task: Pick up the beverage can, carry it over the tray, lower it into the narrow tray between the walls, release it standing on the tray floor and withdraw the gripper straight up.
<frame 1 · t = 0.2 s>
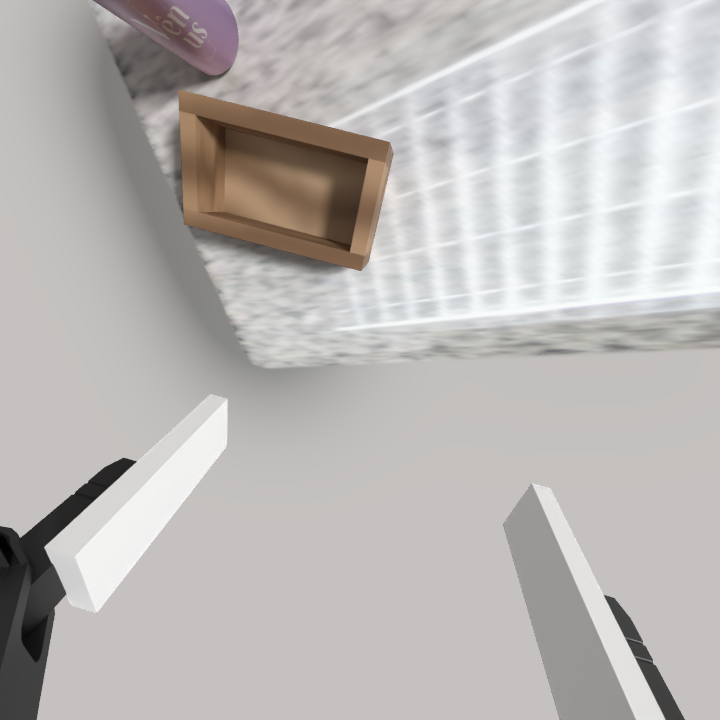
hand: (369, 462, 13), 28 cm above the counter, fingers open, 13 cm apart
beverage can: (213, 38, 30), on the counter
tray: (297, 190, 34), on the counter
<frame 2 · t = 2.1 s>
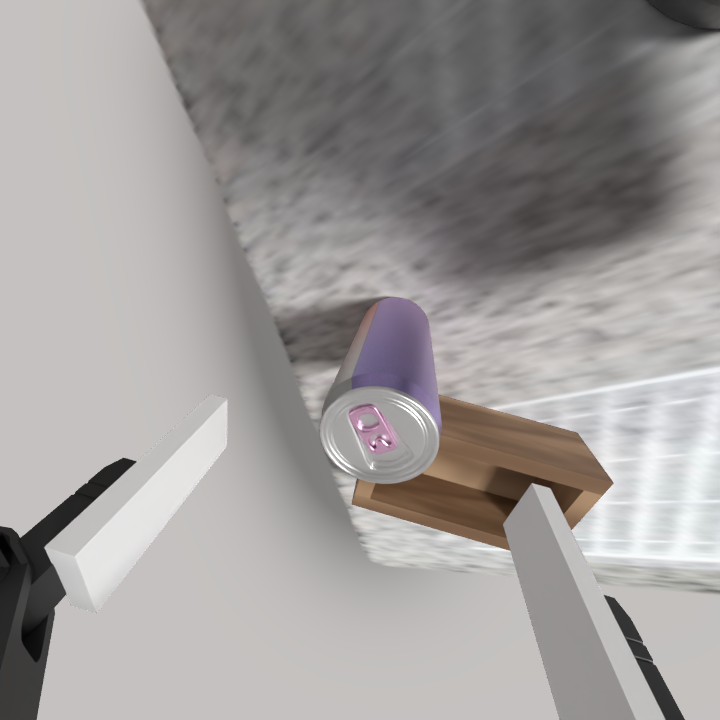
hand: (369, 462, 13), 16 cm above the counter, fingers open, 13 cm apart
beverage can: (395, 327, 28), on the counter
tray: (459, 447, 32), on the counter
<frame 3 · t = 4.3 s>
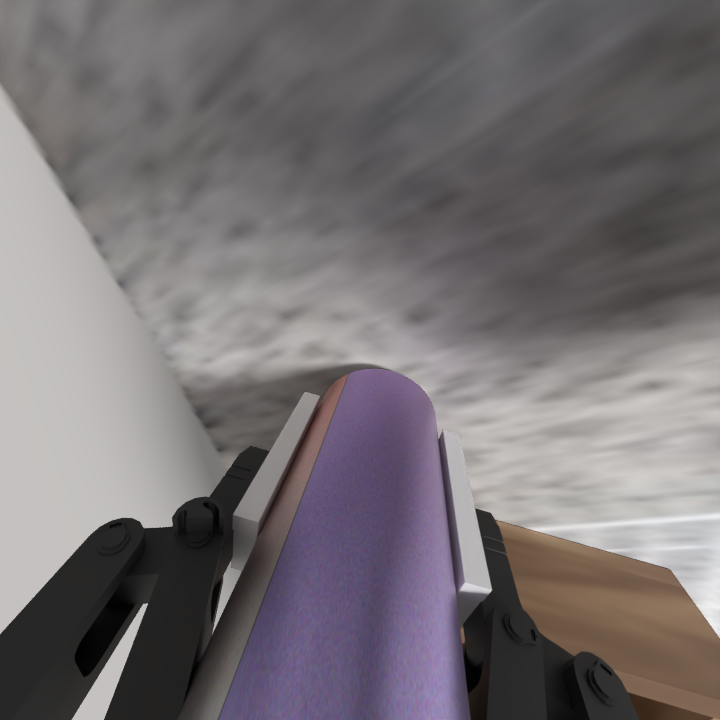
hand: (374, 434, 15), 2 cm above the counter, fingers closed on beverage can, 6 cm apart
beverage can: (378, 409, 17), on the counter, touching gripper
tray: (479, 574, 21), on the counter
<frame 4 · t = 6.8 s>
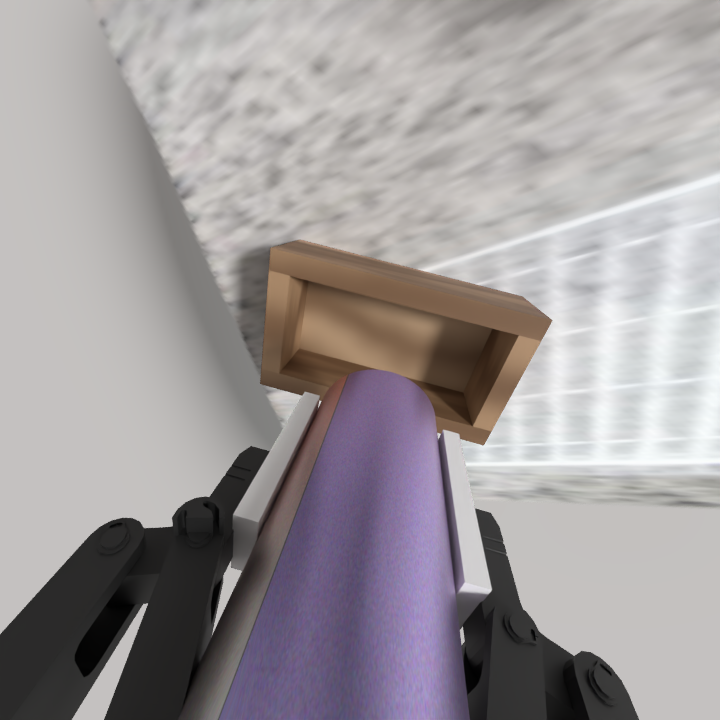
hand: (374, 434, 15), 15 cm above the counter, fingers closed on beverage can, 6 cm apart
beverage can: (378, 410, 17), point 13 cm above the counter, touching gripper
tray: (392, 328, 28), on the counter
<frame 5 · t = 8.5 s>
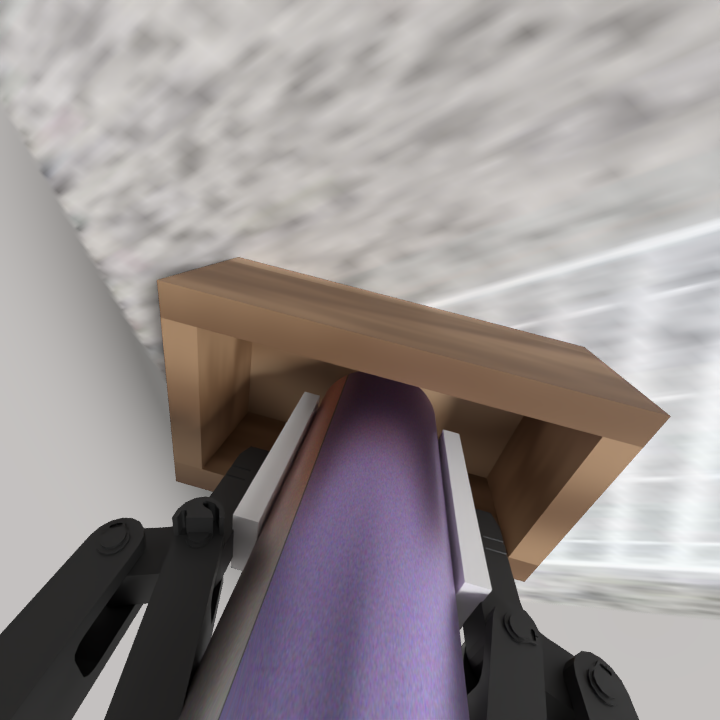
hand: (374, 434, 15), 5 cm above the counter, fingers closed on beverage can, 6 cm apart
beverage can: (378, 410, 17), point 3 cm above the counter, touching gripper
tray: (382, 385, 19), on the counter
when the fingers open (4 cm above the counter, at t = 9.6 s): beverage can drops 1 cm, resting on tray.
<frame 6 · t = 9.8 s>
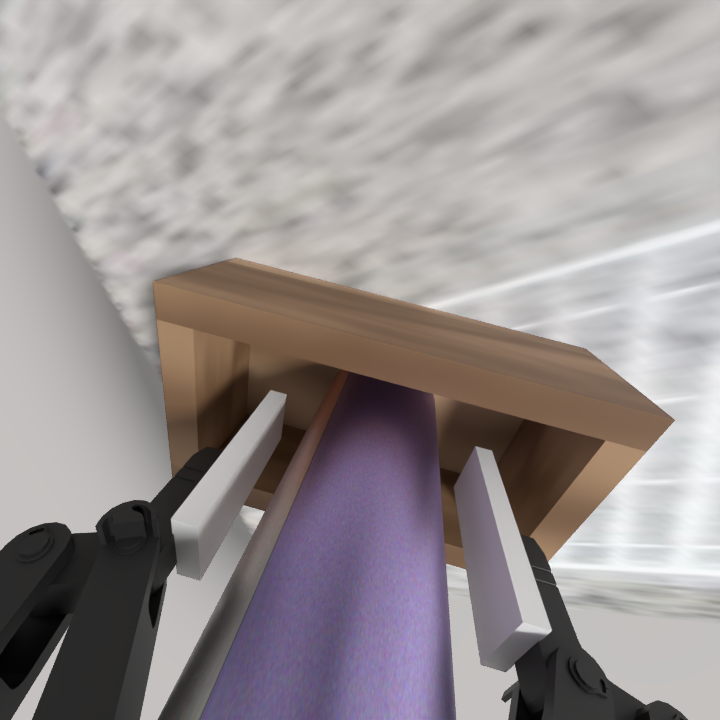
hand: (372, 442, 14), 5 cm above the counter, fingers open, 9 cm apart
beverage can: (382, 395, 18), point 1 cm above the counter, touching tray
tray: (381, 387, 19), on the counter
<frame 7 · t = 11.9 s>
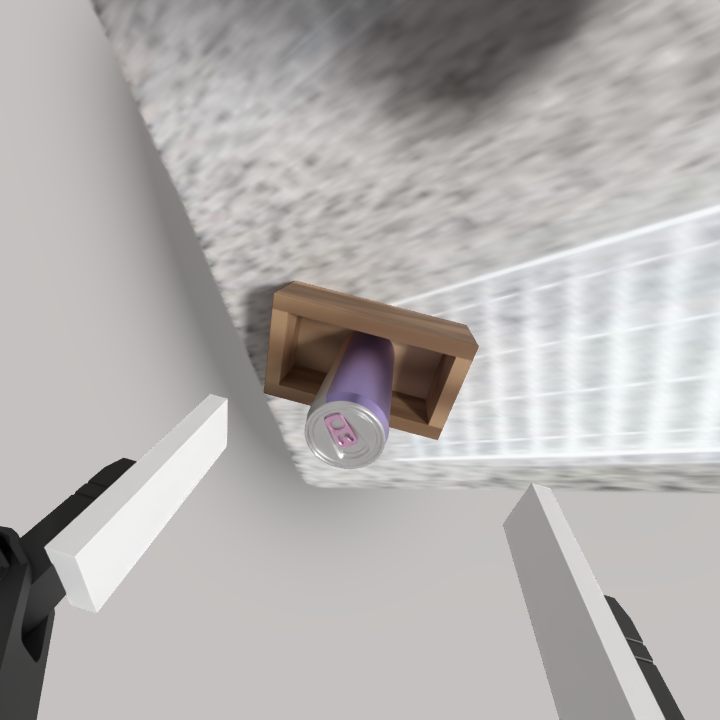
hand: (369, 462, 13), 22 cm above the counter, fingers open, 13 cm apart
beverage can: (368, 351, 34), point 1 cm above the counter, touching tray
tray: (368, 348, 35), on the counter
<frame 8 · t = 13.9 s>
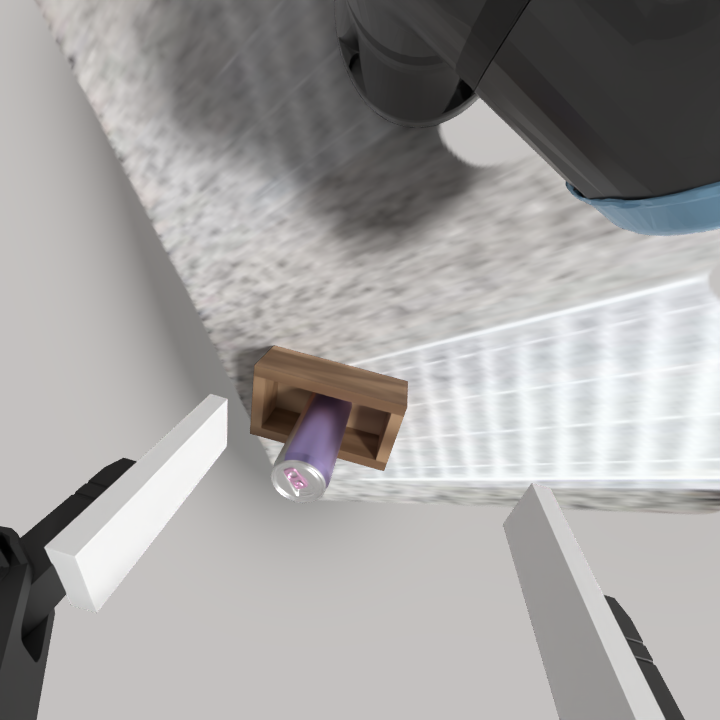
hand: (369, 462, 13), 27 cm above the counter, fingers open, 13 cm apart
beverage can: (332, 398, 44), point 1 cm above the counter, touching tray
tray: (333, 395, 44), on the counter
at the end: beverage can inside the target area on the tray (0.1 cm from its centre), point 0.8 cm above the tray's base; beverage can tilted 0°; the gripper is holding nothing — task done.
